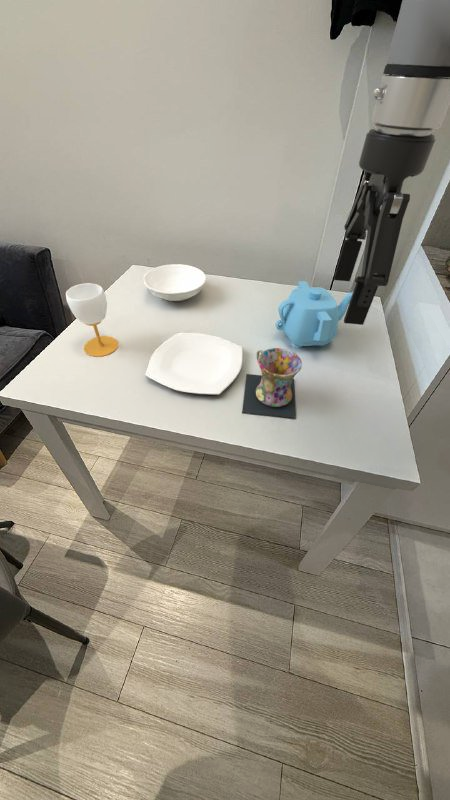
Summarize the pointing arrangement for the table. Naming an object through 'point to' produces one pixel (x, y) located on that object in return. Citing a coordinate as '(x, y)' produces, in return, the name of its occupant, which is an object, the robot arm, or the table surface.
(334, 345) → the table surface
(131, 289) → the table surface
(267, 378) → the mug
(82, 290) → the cup
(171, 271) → the bowl
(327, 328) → the teapot
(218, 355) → the plate
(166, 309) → the table surface
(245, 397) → the left mat
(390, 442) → the table surface
